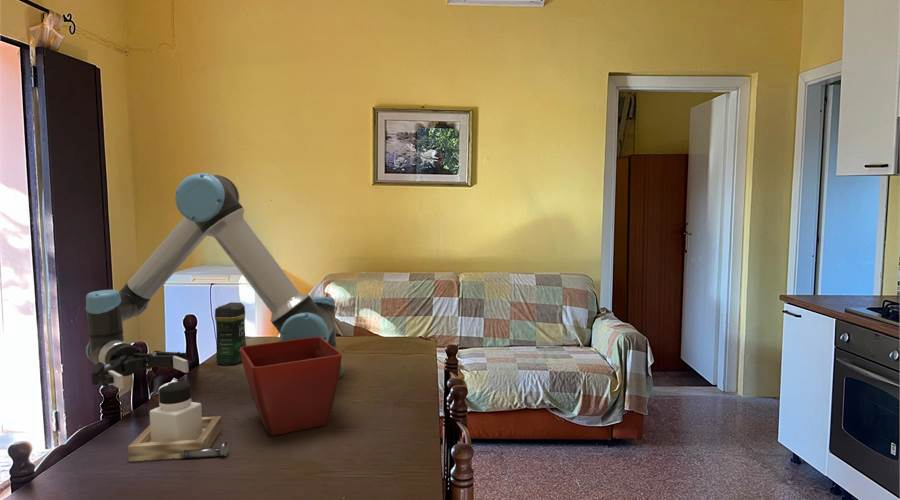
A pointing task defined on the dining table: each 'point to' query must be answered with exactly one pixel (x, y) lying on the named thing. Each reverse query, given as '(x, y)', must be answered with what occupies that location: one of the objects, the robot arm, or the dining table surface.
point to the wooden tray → (173, 443)
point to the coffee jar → (230, 332)
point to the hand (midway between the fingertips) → (155, 374)
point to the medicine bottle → (176, 414)
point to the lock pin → (206, 452)
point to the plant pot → (292, 382)
